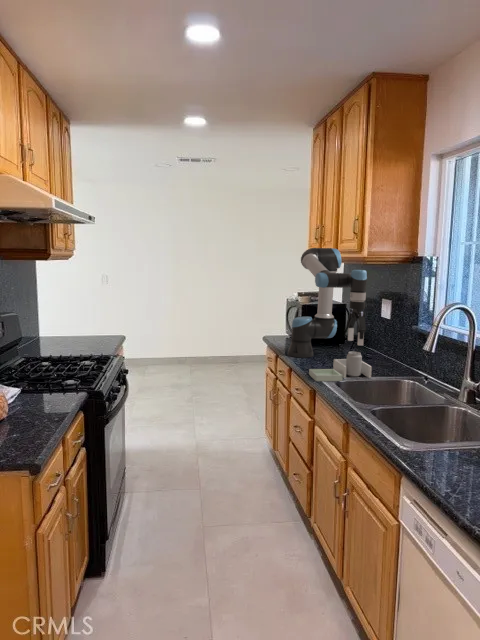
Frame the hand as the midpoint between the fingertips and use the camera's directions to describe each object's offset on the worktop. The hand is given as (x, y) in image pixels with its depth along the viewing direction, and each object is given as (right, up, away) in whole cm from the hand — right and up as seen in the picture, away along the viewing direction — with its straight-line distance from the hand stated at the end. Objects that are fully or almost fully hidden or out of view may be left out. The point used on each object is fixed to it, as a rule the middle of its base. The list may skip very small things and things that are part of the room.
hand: (355, 342), depth 239 cm
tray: (-16, -17, -4) cm, 24 cm away
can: (0, -17, +2) cm, 17 cm away
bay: (-1, -16, +4) cm, 17 cm away
